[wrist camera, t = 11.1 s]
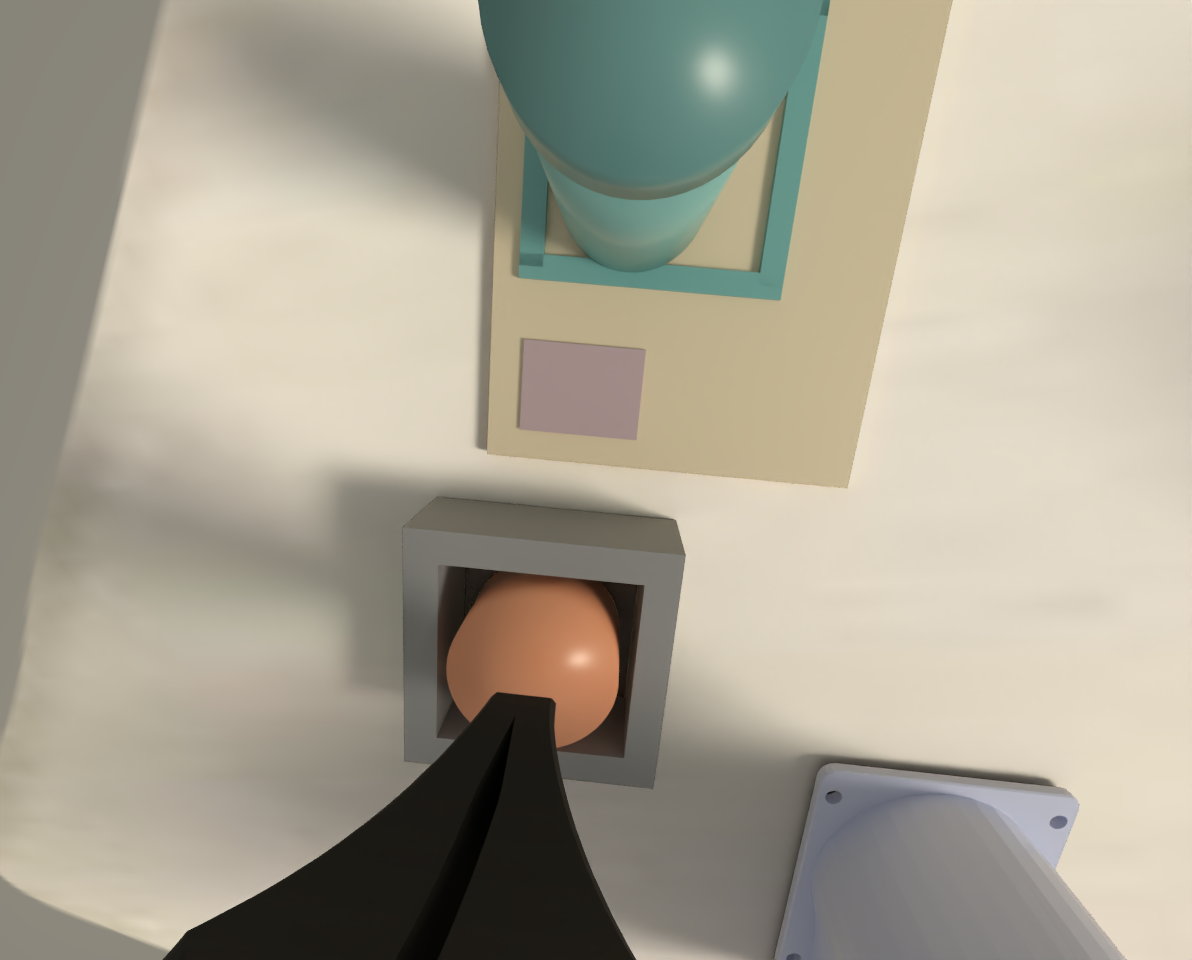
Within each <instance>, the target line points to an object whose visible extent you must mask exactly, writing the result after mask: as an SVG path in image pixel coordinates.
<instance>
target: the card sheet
mask: <svg viewBox="0 0 1192 960" xmlns="http://www.w3.org/2000/svg"><path fill="white" fill-rule="evenodd" d="M952 1H953V0H823V2H822V7H821V12H820V16H819V21H818V26H817V29H816V32H815V35H814V38H813V41H812V44H811V47H810V50H809V52H808V54H807V56H806V59H805V61H804V63H803V65H802V67H801V69H800V72H799V74H798V75H797V77H796V79H795V80H794V82H793V84H792V85H791V87H790V89H789V90H788V92H787V93H786V95H785V97H784V98H783V100H782V102H781V103H780V105H779V107H778V108H777V110H776V112H775V113H774V115H773V117H772V118H771V120H770V122H769V123H768V125H767V126H766V128H765V130H764V131H763V133H762V134H761V135H760V137H759V138H758V139H757V140H756V142H755V143H754V144H753V146H752V147H751V148H750V149H749V150H748V151H747V152H746V153H745V154H744V155H743V156H742V157H741V158H740V159H739V161H738V163H737V164H736V166H735V168H734V170H733V171H732V173H731V175H730V177H729V178H728V180H727V182H726V184H725V185H724V187H723V189H722V191H721V192H720V194H719V196H718V198H717V199H716V201H715V203H714V205H713V206H712V208H711V210H710V212H709V213H708V215H707V217H706V219H705V220H704V222H703V224H702V226H701V227H700V229H699V231H698V233H697V234H696V236H695V238H694V239H693V240H692V242H691V243H690V244H689V246H688V247H687V248H686V249H685V250H684V251H683V252H682V253H681V254H680V255H678V256H677V257H676V258H674V259H673V260H672V261H670V262H668V263H667V264H665V265H663V266H660V267H658V268H656V269H652V270H649V271H644V272H622V271H616V270H613V269H610V268H607V267H605V266H603V265H600V264H599V263H597V262H596V261H594V260H592V259H591V258H590V257H589V256H587V255H586V254H585V253H584V252H583V251H582V250H581V249H580V248H579V246H578V245H577V244H576V242H575V241H574V240H573V238H572V236H571V235H570V233H569V231H568V229H567V226H566V224H565V221H564V219H563V216H562V214H561V211H560V209H559V206H558V204H557V201H556V199H555V196H554V193H553V191H552V188H551V186H550V183H549V181H548V178H547V176H546V173H545V171H544V168H543V166H542V163H541V161H540V158H539V156H538V153H537V151H536V148H535V147H534V146H533V145H532V143H531V142H530V140H529V139H528V137H527V136H526V135H525V133H524V132H523V130H522V128H521V126H520V124H519V123H518V121H517V119H516V117H515V115H514V113H513V111H512V108H511V106H510V104H509V101H508V99H507V97H506V94H505V92H504V90H503V87H502V85H501V83H500V85H499V114H498V144H497V173H496V203H495V233H494V262H493V292H492V322H491V351H490V381H489V411H488V440H487V454H492V455H503V456H513V457H524V458H534V459H545V460H555V461H566V462H576V463H587V464H597V465H608V466H618V467H629V468H639V469H650V470H660V471H671V472H681V473H691V474H702V475H712V476H723V477H733V478H744V479H754V480H765V481H775V482H786V483H796V484H807V485H817V486H828V487H838V488H848V484H849V479H850V474H851V470H852V465H853V460H854V456H855V451H856V447H857V442H858V437H859V433H860V428H861V423H862V419H863V414H864V409H865V405H866V400H867V395H868V391H869V386H870V382H871V377H872V372H873V368H874V363H875V358H876V354H877V349H878V344H879V340H880V335H881V331H882V326H883V321H884V317H885V312H886V307H887V303H888V298H889V293H890V289H891V284H892V280H893V275H894V270H895V266H896V261H897V256H898V252H899V247H900V242H901V238H902V233H903V228H904V224H905V219H906V215H907V210H908V205H909V201H910V196H911V191H912V187H913V182H914V177H915V173H916V168H917V164H918V159H919V154H920V150H921V145H922V140H923V136H924V131H925V126H926V122H927V117H928V113H929V108H930V103H931V99H932V94H933V89H934V85H935V80H936V75H937V71H938V66H939V62H940V57H941V52H942V48H943V43H944V38H945V34H946V29H947V24H948V20H949V15H950V10H951V6H952Z"/></svg>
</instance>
